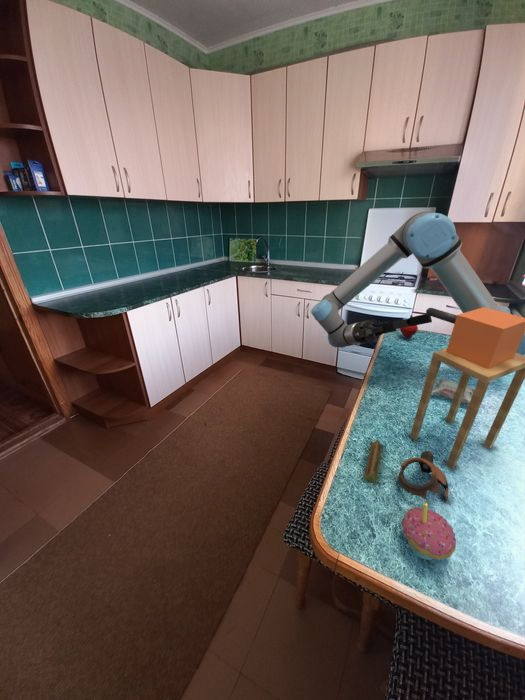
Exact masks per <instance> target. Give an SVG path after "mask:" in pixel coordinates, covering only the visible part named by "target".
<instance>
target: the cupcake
mask: <svg viewBox="0 0 525 700" xmlns="http://www.w3.org/2000/svg"><path fill="white" fill-rule="evenodd" d="M401 527H402V532H403V535H404V536H405V538H406V539H407V543H408V546H409V549H410V550H411V551H412V553H413V554H414V555H415V556H417V557H418V558H420V559H422V560H427V561H431V560H434V559H435V560H438V561H439V560H445V559H449V558H450V557H452V555H453V554H454V553H455V551H456V548H457V539H456V533H455V532H454V530H453V528H452V526H451V524H450V523H449V522H448V521H447V519H446V518H444V516H443V515H440V513H437V512H436V511H435V510H431V509H429V503H428V502H427V500H425V499H424V502H423V506H421V507H419V506H418V507H416V506H415V507H411V508H409V509H408V510H407V511H406V512H405V513H404V515H403V517H402V520H401Z"/></svg>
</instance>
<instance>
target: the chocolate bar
mask: <svg viewBox="0 0 525 700" xmlns="http://www.w3.org/2000/svg"><path fill="white" fill-rule="evenodd" d="M369 449H370V450H369V454H368V458H367V462H366V463H367V464H366V468H365V473H364V478H363V480H365V481H369V482H370V483H374V484H377V479H378V473H379V467H380V461H381V457H382V456H381V454H382V449H383V446H382V444H381V442H380V440H379V439H376V440H374V441H373V442H371V445H370V448H369Z"/></svg>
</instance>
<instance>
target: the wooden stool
mask: <svg viewBox="0 0 525 700" xmlns="http://www.w3.org/2000/svg"><path fill="white" fill-rule="evenodd" d="M446 350H447V347H446V348H443V349H439V350H436V351H433V352H432V358H431V360H430V364H429V367H428V371H427V374H426V377H425V381H424V384H423V388H422V392H421V395H420V399H419V402H418V406H417V408H416V413H415V417H414V419H413V423H412V427H411V430H410V433H409V438H411V439H412V440H414V441H415V440H417V439H419V436H420V434H421V429H422V426H423V423H424V420H425V417H426V413H427V411H428V407H429V404H430V401H431V397H432V394H433V393H432V391H433V390H434V387H435V385H436V382H437V381H436V380H437V377H438V374H439V370H440V367H441V364H442V363H443V364H444V365H446V366H449V367H451V368H453V369H455V370H457V371H458V372H461V375H460V377H459V381H458V383H459V384H458V386H457V389H456V392H455V395H454V398H453V401H452V400H451V404H450V406H449V410H448V413H447V415H446V418H445V421H446V422H447V423H448V424H453V423H454V422H455V420H456V417H457V414H458V411H459V409H460V406H461V401H462V398H463V395H464V393H465V390H466V387H467V386H468V384H469V382H470V378H474V379H475V380H477V382H476V385H475V387H474V392H473V395H472V398H471V400H470V403H469V405H467V408H466V411H465V413H464V416H463V419H462V421H461V425H460V427H459V429H458V431H457V434H456V437H455V438H454V439H455V440H454V442H453V445H452V447H451V450H450V452H449V454H448V457H447V460H446V462H445V466H447V467H448V468H449V469H450V470H452V469H454V468H456V467H457V464H458V462H459V459H460V457H461V455H462V452H463V449H464V447H465V444H466V442H467V439H468V437H469V435H470V432H471V430H472V428H473V425H474V423H475V421H476V417H477V415H478V413H479V410H480V408H481V406H482V403H483V400H484V398H485V395H486V393H487V391H488V388H489V385H490V383H491V382H493V381H496V380H498V379H500V378H503V377H505V376H508V375H510V374H513V373H514V376H513V377H512V380H511V382H510V384H509V386H508V388H507V391H506V393H505V395H504V397H503V400H502V402H501V404H500V406H499V408H498V411H497V413H496V415H495V417H494V420H493V422H492V424H491V426H490V429H489V431H488V433H487V435H486V438H485V440H484V442H483V444H482V445H483V446H484V447H486V448H487V449H492V448H493V447H494V445H495V443H496V440H497V438H498V436H499V435H500V431H501V430H502V427H503V426H504V423H505V421H506V419H507V417H508V416H509V413H510V410H511V409H512V407H513V404H514V403H515V400H516V398H517V396H518V394H519V392H520V389H521V387H522V385H523V384H524V381H525V355H520V354H518V353H516V354H515V356H514V358H512V359H509V360H507V361H505V362H503V363H500V364H498V365H496V366H494V367H491V368H489V369H487V368H484V367H482V366H480V365H477V364H475V363H472V362H470V361H468V360H465V359H463V358H460V357H458V356H456V355H453V354H451V353H449V352H446Z"/></svg>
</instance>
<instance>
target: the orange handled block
mask: <svg viewBox="0 0 525 700" xmlns="http://www.w3.org/2000/svg"><path fill="white" fill-rule="evenodd" d="M425 314H427V315H429V316H431V318H434V319H438V320H441V321H444V322H447V323H450V324H453V328H452V331H451V335H450V337H449V340H448V344H447V347H446V348H447V350H446V352H449V353H451V354H453V355H456V356H458V357H460V358H463V359H465V360H468V361H470V362H472V363H475V364H477V365H480V366H482V367H484V368H487V369H489V368H491V367H494V366H496V365H498V364H500V363H503V362H505V361H507V360H509V359H512V358H514V356H515V354H516V351H517V349H518V347H519V344H520V342H521V340H522V338H523V335H524V333H525V317H523V316H520V315H515V314H512V313H511V314H508V313H504V312H500V311H497V310H493V309H489V308H485V307H483V308H479V309H476V310H472V311H469V312H466V313H463V312H462V313H459V314H453V313H450V312H448V311H444V310H440V309H437V308H434V307H428V308H427V309H426V310H425Z"/></svg>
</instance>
